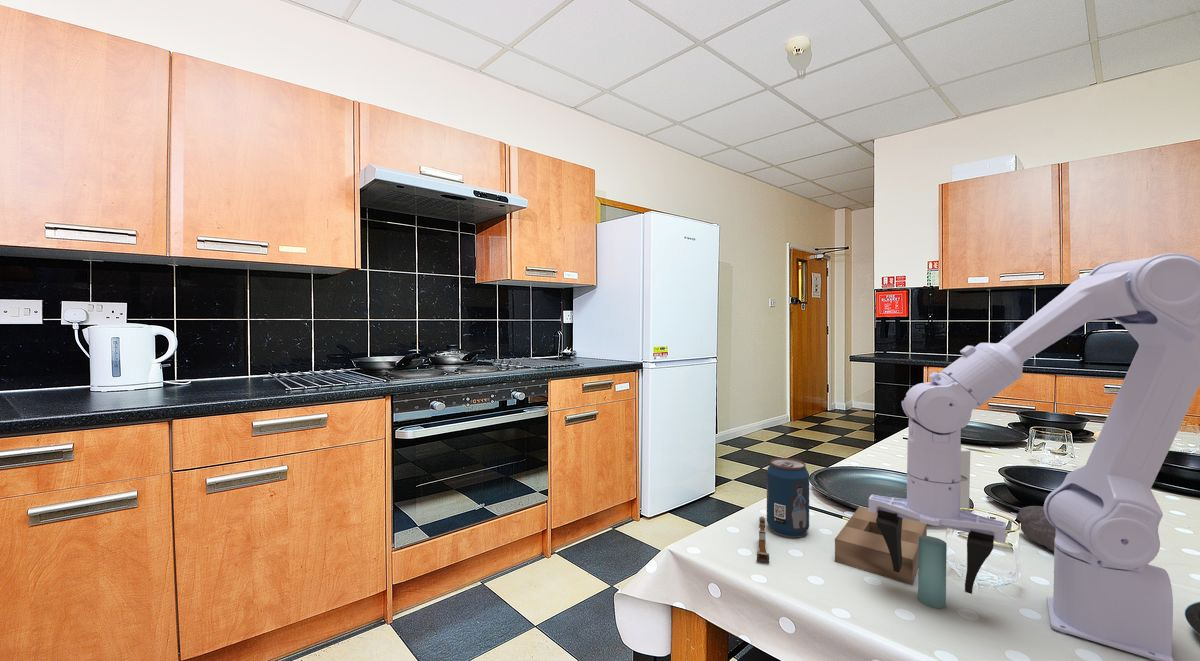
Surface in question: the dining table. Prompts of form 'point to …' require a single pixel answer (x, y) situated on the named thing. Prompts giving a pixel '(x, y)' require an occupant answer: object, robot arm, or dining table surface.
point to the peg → (932, 571)
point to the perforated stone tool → (1037, 526)
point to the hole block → (878, 546)
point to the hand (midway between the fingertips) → (931, 578)
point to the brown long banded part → (762, 542)
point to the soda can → (788, 497)
